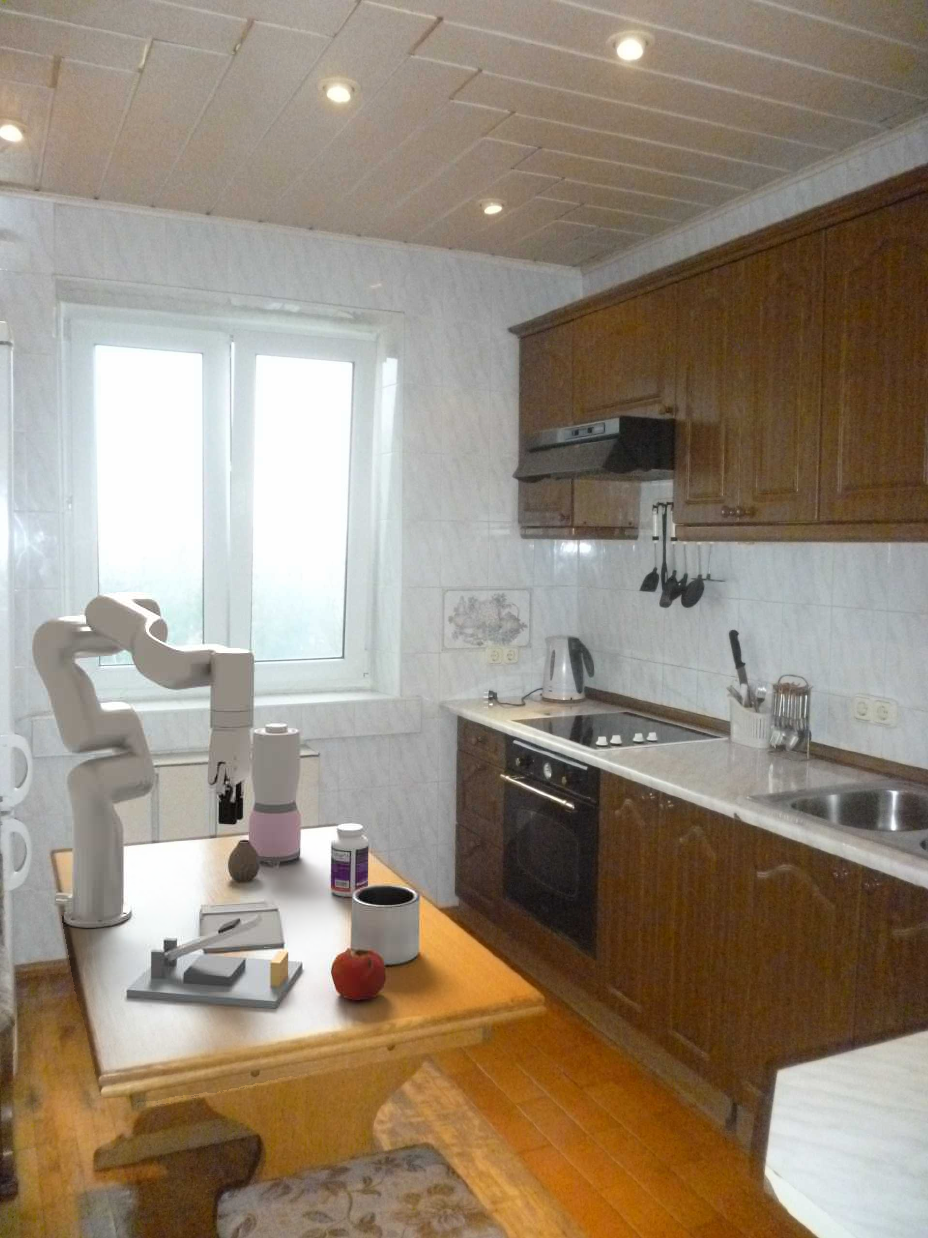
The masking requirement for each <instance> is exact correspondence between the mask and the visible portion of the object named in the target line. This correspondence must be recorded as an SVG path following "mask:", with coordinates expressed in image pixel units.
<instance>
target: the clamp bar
mask: <svg viewBox="0 0 928 1238" xmlns="http://www.w3.org/2000/svg"><path fill="white" fill-rule="evenodd" d="M262 920H263V919H262V917H261V915H260V914H258V915H255V916H253V917H250V918H248V919H245V920H243V921H240V918H238V919H236V920H233V921H231V922H228V923H226V924H224V925H223V926H222V927H221V928H220V929H219V930H218V931H215V932H213V933H210V934H208V935H205V936H203V937H201V936H200V937H198V938H195V939H193V940H190V941H187V942H186V943H183V944H181V945H177V947H175V948H172V949H170V950H166V951H165V963H166V962H169V961H171V960H174V959H176V958H179V957H182V956H184V955H187V954H193V953H194V952H197V951H199V950H202V948H204V947H207V946H209V945H212V944H214V943H217V942H219V941H222V940H224V939H227V938H229V937H232V936H234V935H237V934H239V933H242V932H245V931H247V930H250V929H252V928H255V927H257V926H258V925H259V924H260V923H261V922H262Z"/></svg>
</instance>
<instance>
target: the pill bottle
mask: <svg viewBox="0 0 928 1238" xmlns="http://www.w3.org/2000/svg"><path fill="white" fill-rule="evenodd" d="M363 832H364V827H363V825H362V824H360V823H359V824H358V823H352V822H350V823H342V824H339V825H337V826H336V834H337V835H336V836H334V837H333V838H332V840H331V843H330V891H331V892H332V893H333V894H334V895H335V896H339V897H344V898H352V895H353V893H354V892H355V891H356V890H358V889H361V888H363V887H367V886H369V849H370V848H369V840H368V837H366V836H364V835H363Z"/></svg>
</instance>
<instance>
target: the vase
mask: <svg viewBox="0 0 928 1238" xmlns="http://www.w3.org/2000/svg"><path fill="white" fill-rule="evenodd" d="M227 861H228V862H227V870H228V874H229V876H230V877H231V879H232V880H234V882H236V883H250V882H252V881H253V880H254V879H256V878H257V876H258V874H259V871H260V866H261V861H260V859H259V855H258V853H257V851H256V850H255V849H254V847H253V846H252V845H251V843H250V841H249V839H240V840H238V843H237V844H236V846H235V847H234V849H233V850H232V851H231V852H230V854H229V857H228V860H227Z"/></svg>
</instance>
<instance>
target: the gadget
mask: <svg viewBox="0 0 928 1238" xmlns="http://www.w3.org/2000/svg"><path fill="white" fill-rule="evenodd" d="M258 914H260V915H261V917H262V919H263V920H262V922H261V923H260V924H259V925H258V926H257V927H255V928H252V929H250V930H247V931H245V932H242V933H239V934H237V935H234V936H232V937H229V938H227V939H224V940H222V941H219V942H217V943H214V944H212V945H209V946H207V947H204V948H202V949H201V951H202V950H203V951H204V952H203V953H214V952H215V951H217V952H226V951H227V952H230V951H242V950H243V949H244V950H254V949H253V948H258V949H268V948H267V947H271V948H280V947H284V946H285V940H284V932H283V926H282V920H281V915H280V914H281V913H280V911H279V907H278V905H277V904H276V902H275V901H274V900H263V901H261V900H259V901H246V902H245V901H244V902H231V903H230V902H228V903H227V902H226V903H213V904H211V903H210V904H201V905H200V909H199V915H200V933H201V934H200V937H203V936H205V935H208V934H210V933H213V932H215V931H218V930H219V929H220V928H221V927H222V926H223V925H224V924H226V923H228V922H231V921H233V920H236V919H238V918H240V921H243V920H245V919H248V918H250V917H253V916H255V915H258ZM264 947H266V948H264ZM215 953H216V952H215Z"/></svg>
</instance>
